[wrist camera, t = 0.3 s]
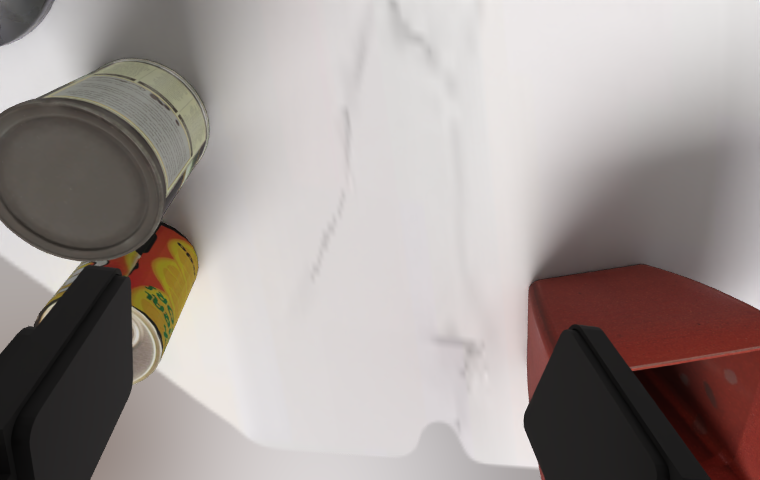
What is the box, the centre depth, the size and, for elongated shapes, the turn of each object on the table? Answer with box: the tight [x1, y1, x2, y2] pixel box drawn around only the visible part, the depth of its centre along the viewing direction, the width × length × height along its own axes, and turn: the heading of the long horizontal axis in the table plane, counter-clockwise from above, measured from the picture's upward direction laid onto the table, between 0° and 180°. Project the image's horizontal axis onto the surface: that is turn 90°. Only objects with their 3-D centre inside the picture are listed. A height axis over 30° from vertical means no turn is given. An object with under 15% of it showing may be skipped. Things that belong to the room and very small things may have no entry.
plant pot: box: [527, 264, 760, 480], centre depth 49 cm, size 19×19×17 cm
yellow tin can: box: [34, 222, 198, 385], centre depth 44 cm, size 9×9×12 cm
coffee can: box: [0, 58, 209, 262], centre depth 37 cm, size 10×10×14 cm
